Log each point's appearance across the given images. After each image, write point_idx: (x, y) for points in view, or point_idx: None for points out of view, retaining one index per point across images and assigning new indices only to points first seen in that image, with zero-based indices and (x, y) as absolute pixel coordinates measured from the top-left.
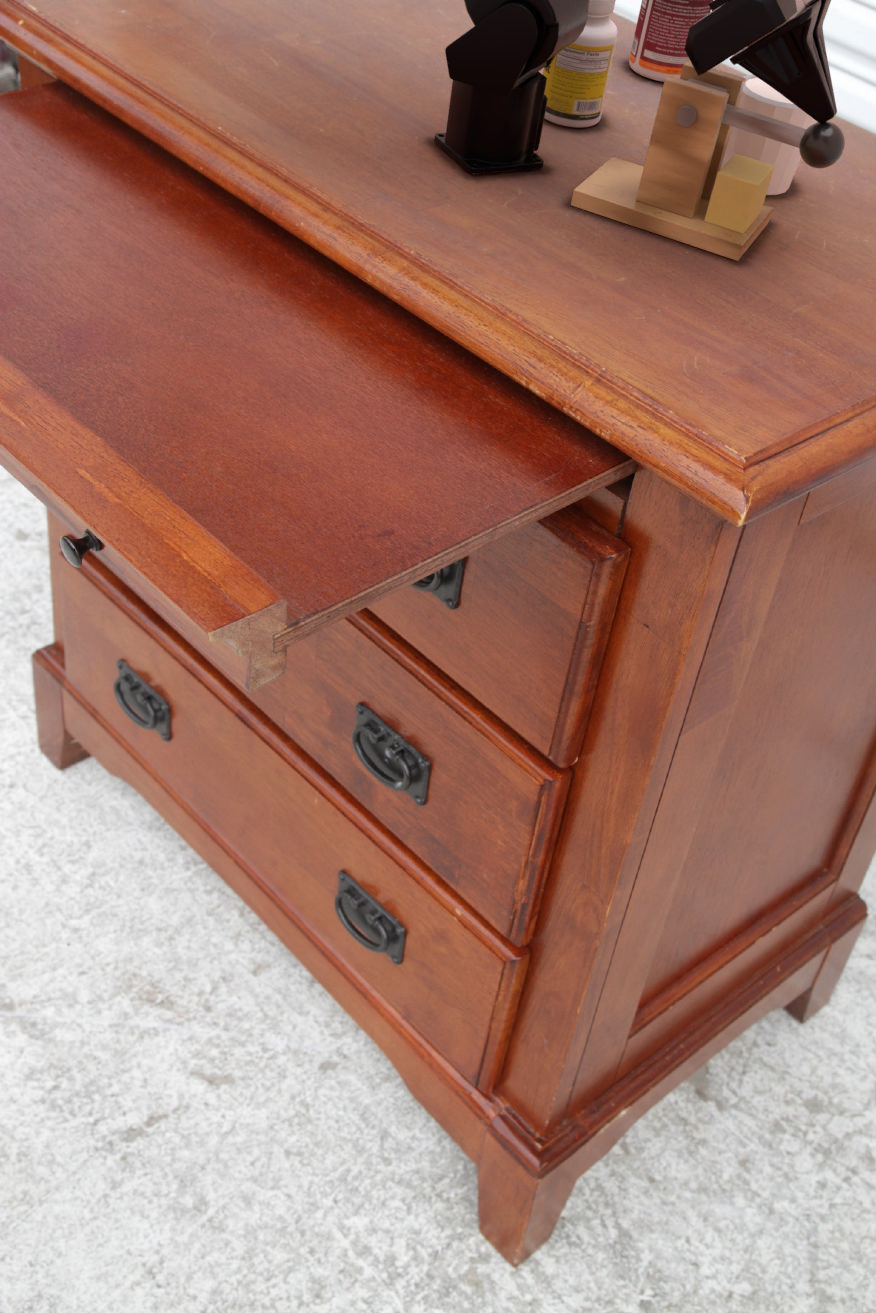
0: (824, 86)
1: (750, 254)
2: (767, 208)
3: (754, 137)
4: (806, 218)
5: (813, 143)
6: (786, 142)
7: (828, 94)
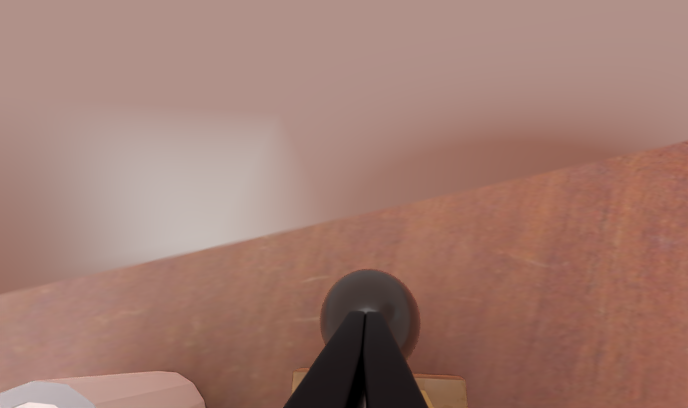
0: (408, 377)
1: (420, 364)
2: (301, 379)
3: None
4: (245, 321)
5: (417, 335)
6: None
7: (388, 352)
